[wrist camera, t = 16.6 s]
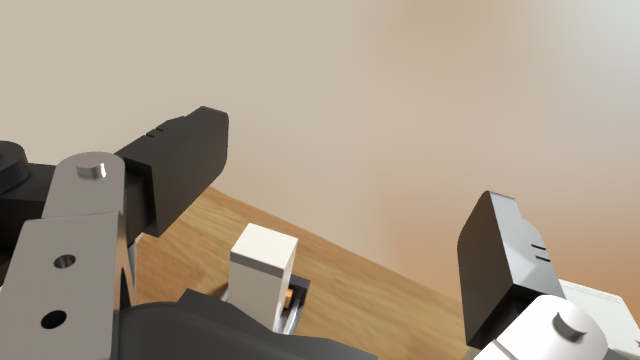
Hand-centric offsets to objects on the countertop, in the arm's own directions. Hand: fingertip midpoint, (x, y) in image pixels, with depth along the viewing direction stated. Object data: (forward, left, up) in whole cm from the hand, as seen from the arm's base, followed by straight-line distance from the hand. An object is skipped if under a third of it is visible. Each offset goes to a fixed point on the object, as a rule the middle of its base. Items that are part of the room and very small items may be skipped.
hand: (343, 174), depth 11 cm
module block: (+6, -13, -29) cm, 32 cm away
